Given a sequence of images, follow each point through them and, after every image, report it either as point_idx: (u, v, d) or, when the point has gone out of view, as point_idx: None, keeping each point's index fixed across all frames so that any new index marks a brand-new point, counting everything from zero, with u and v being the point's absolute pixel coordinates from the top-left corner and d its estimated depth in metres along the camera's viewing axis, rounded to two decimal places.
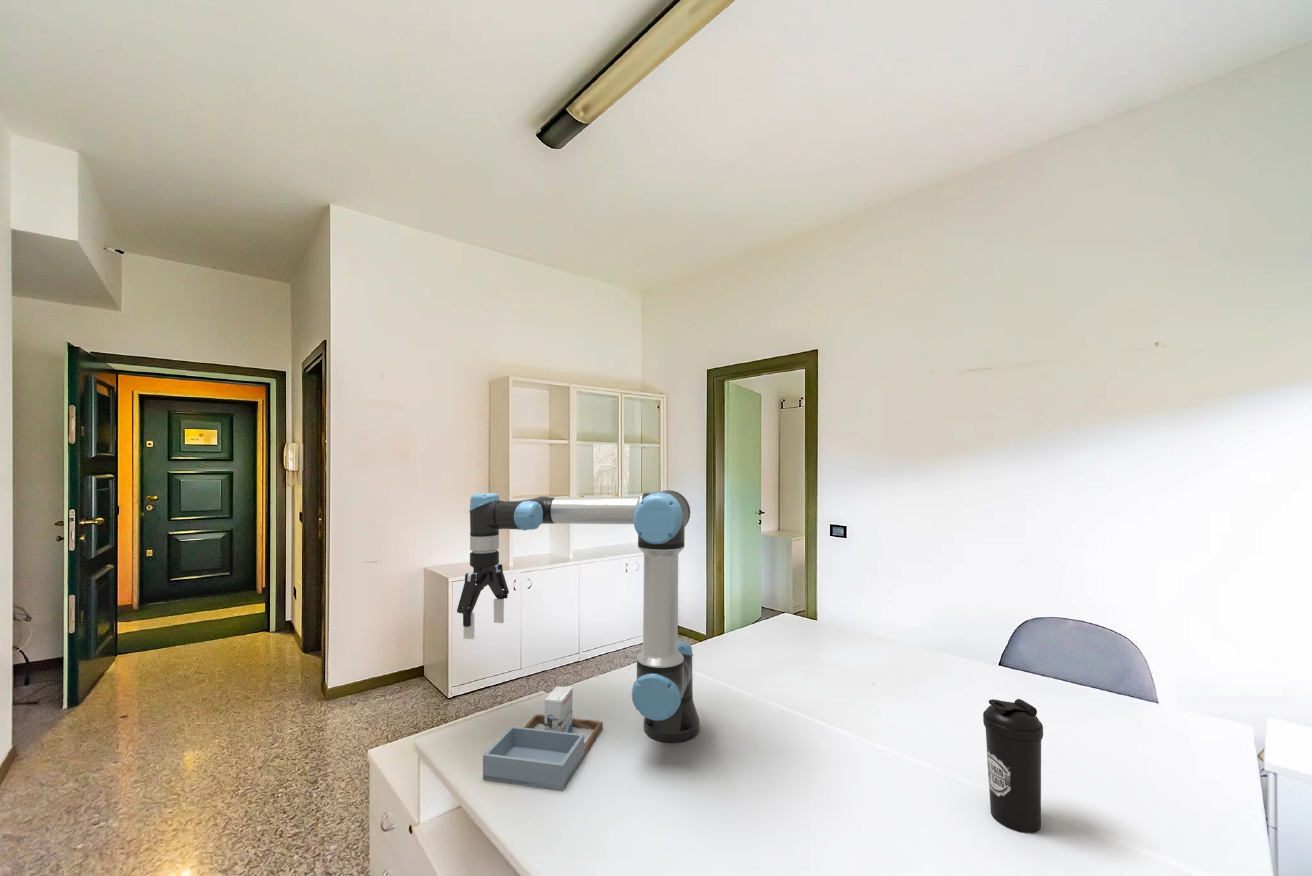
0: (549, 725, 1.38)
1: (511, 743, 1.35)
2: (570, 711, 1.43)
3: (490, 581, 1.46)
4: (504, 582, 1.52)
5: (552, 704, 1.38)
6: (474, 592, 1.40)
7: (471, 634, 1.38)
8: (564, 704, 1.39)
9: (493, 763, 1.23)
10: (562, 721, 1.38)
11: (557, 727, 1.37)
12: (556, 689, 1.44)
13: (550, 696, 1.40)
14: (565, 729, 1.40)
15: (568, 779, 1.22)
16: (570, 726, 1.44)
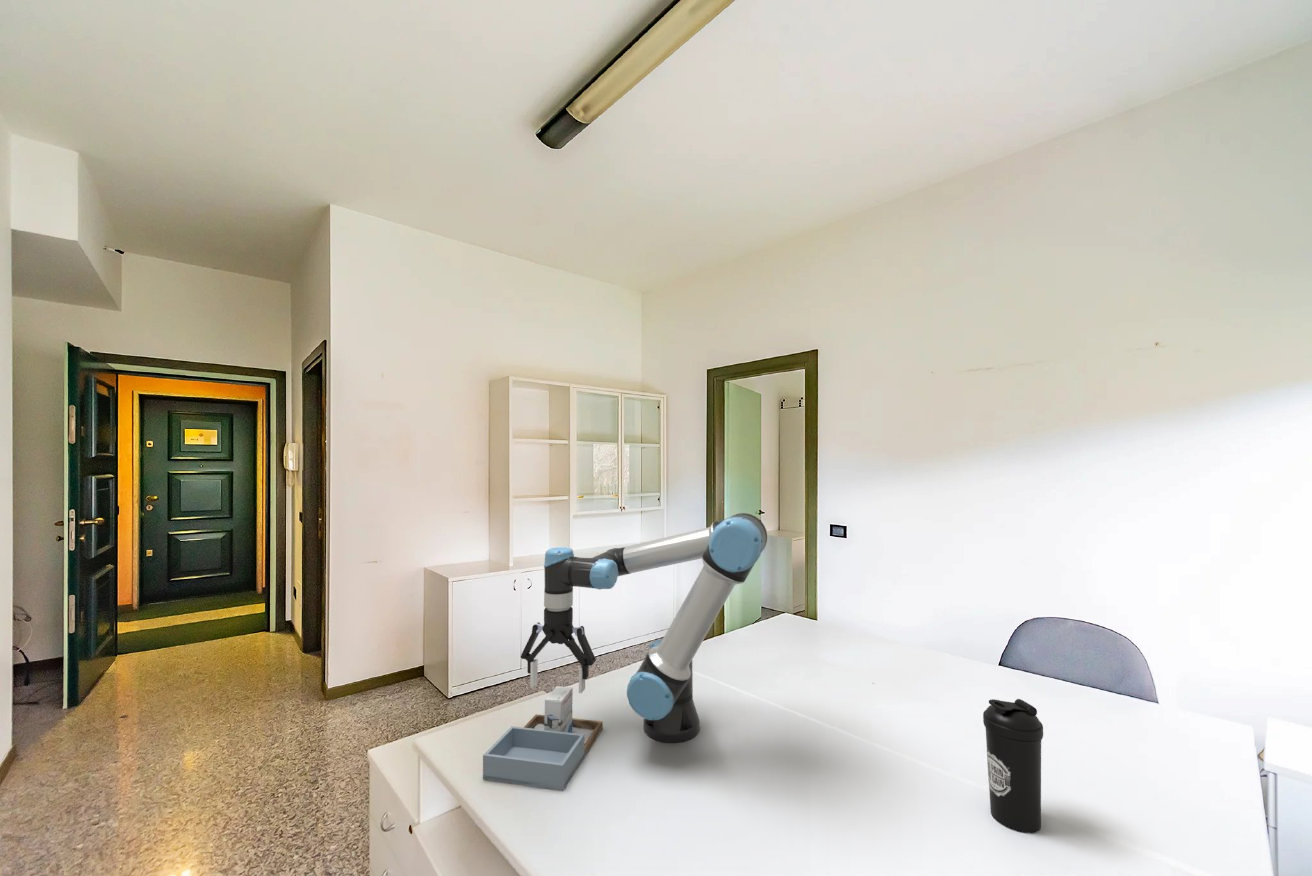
0: (549, 725, 1.38)
1: (511, 743, 1.35)
2: (570, 711, 1.43)
3: (560, 641, 1.41)
4: (584, 650, 1.39)
5: (552, 704, 1.38)
6: None
7: None
8: (564, 704, 1.39)
9: (493, 763, 1.23)
10: (562, 721, 1.38)
11: (557, 727, 1.37)
12: (556, 689, 1.44)
13: (550, 696, 1.40)
14: (565, 729, 1.40)
15: (568, 779, 1.22)
16: (570, 726, 1.44)
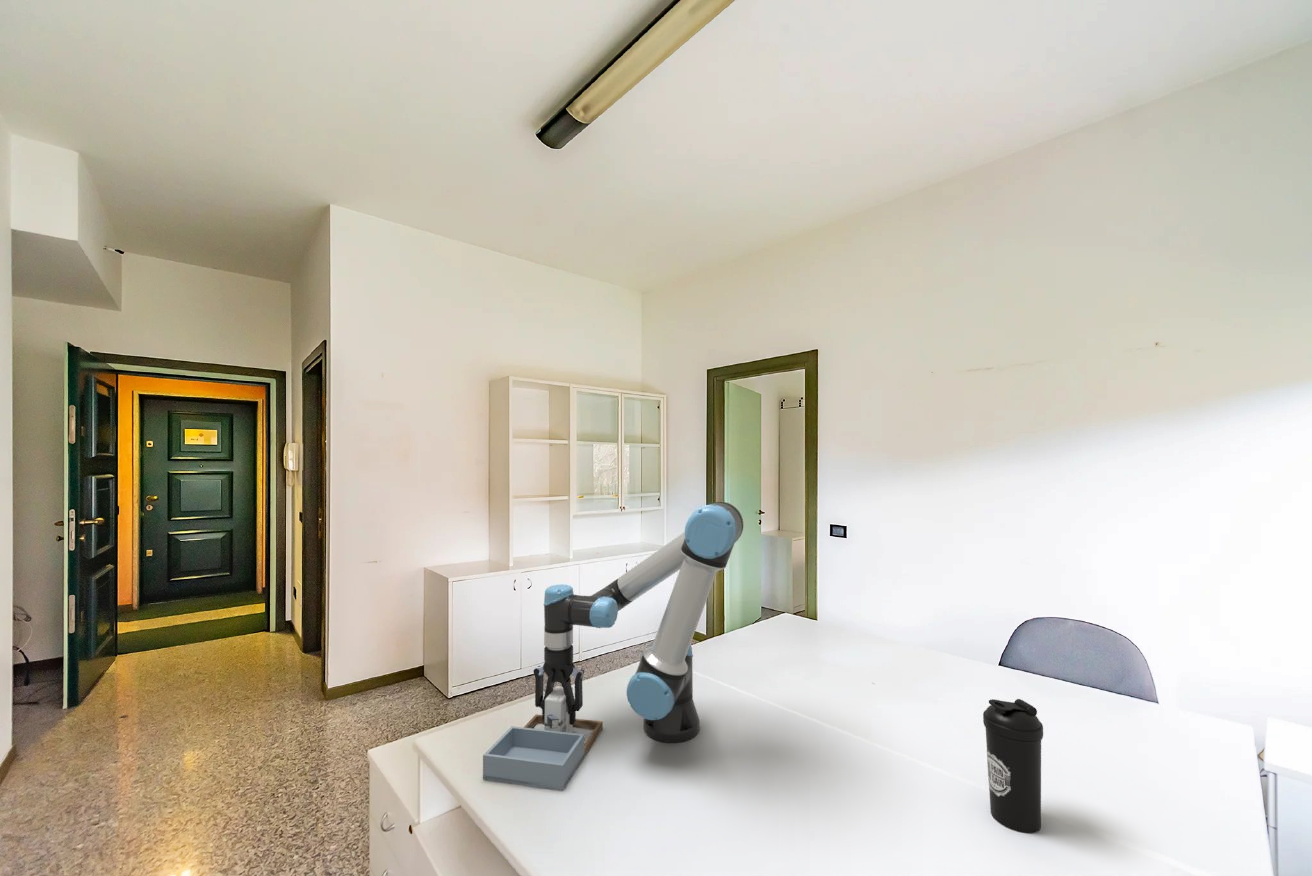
0: (550, 725, 1.38)
1: (511, 743, 1.35)
2: None
3: None
4: (576, 694, 1.40)
5: (552, 703, 1.38)
6: None
7: None
8: (565, 704, 1.39)
9: (493, 763, 1.23)
10: (562, 721, 1.38)
11: (557, 727, 1.37)
12: (556, 689, 1.44)
13: (550, 696, 1.40)
14: (565, 729, 1.40)
15: (568, 779, 1.22)
16: None
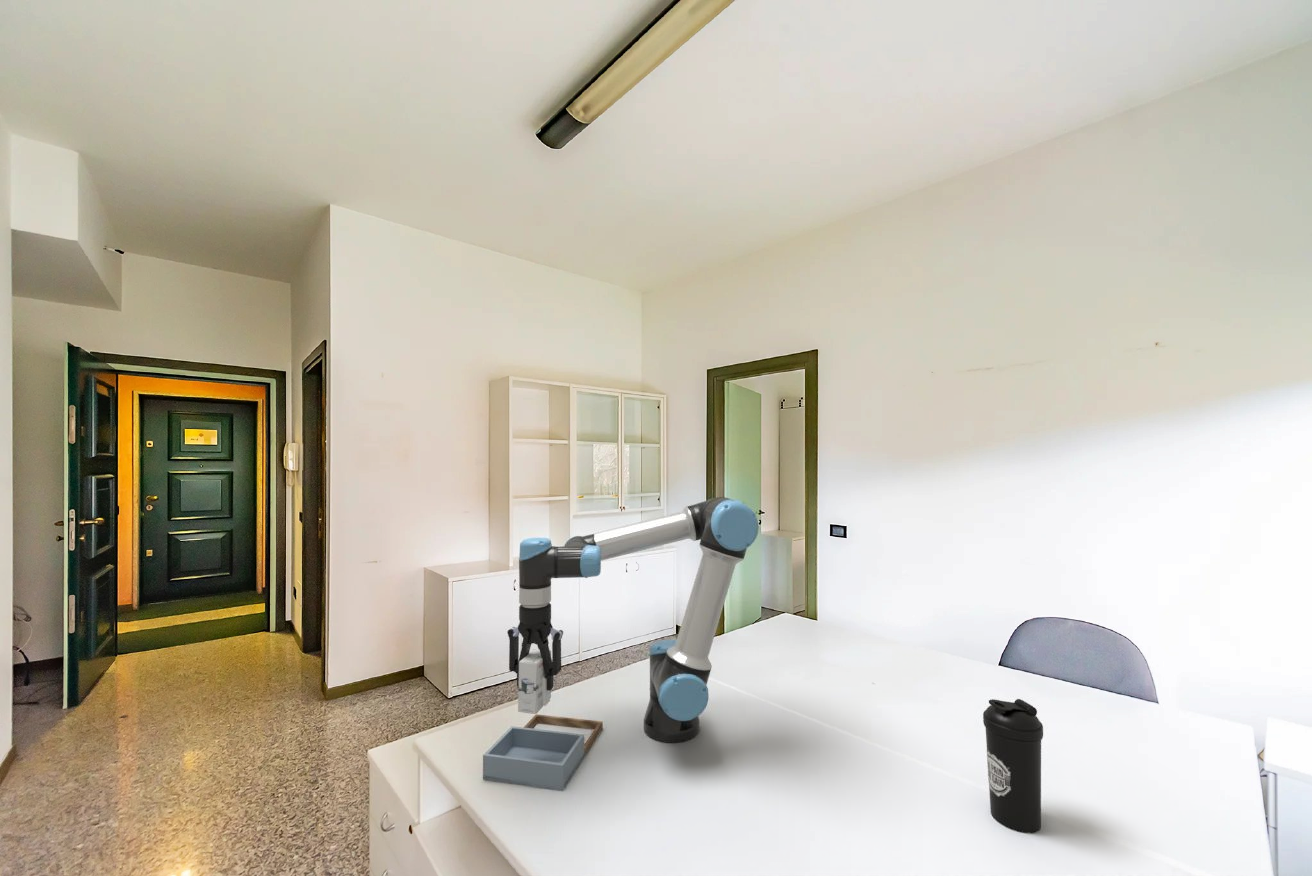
0: (524, 690, 1.25)
1: (511, 743, 1.35)
2: None
3: None
4: (554, 657, 1.26)
5: (527, 666, 1.25)
6: None
7: None
8: (541, 667, 1.26)
9: (493, 763, 1.23)
10: (538, 686, 1.25)
11: (532, 692, 1.24)
12: (533, 652, 1.31)
13: (525, 659, 1.27)
14: None
15: (568, 779, 1.22)
16: None
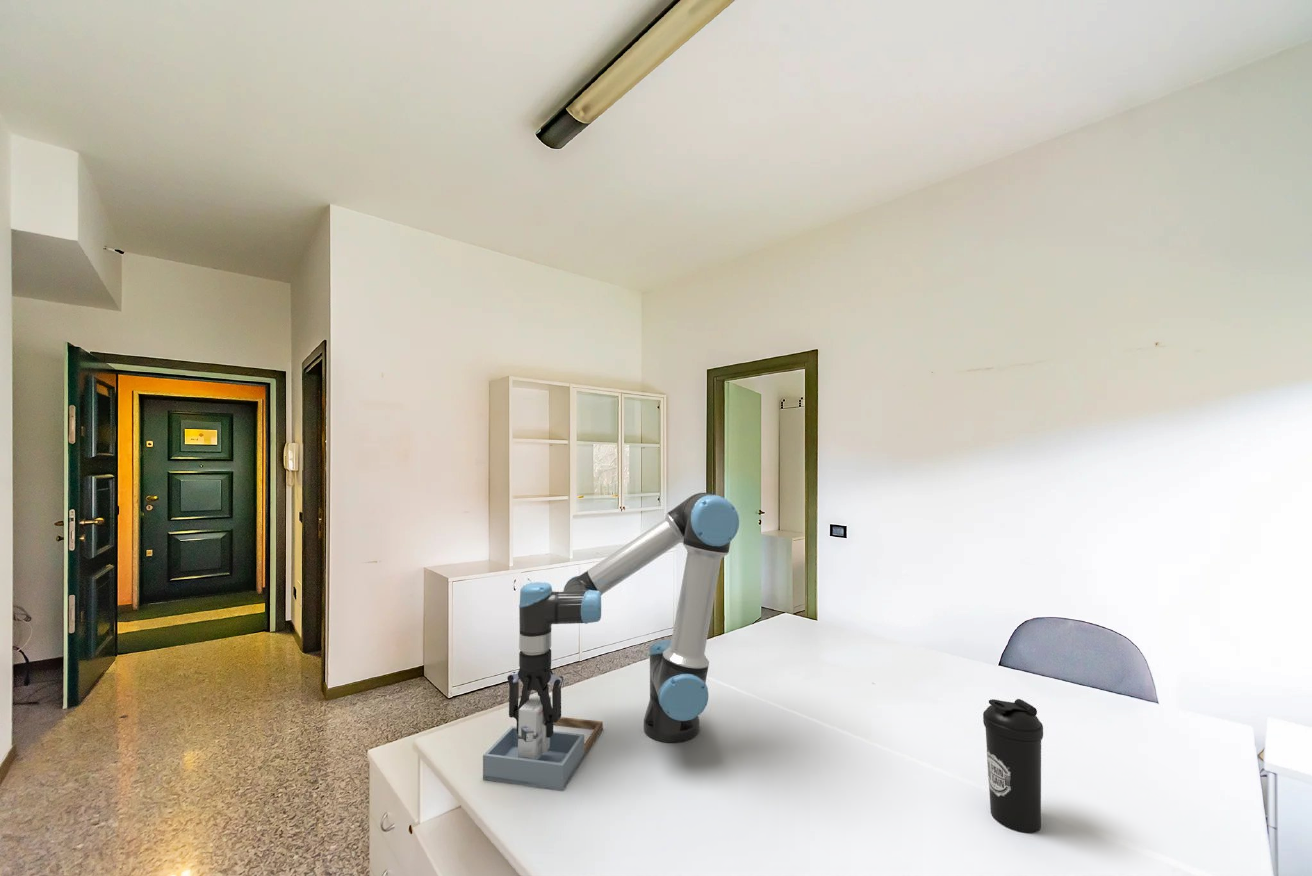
0: (524, 738, 1.24)
1: (511, 743, 1.35)
2: None
3: None
4: (554, 704, 1.26)
5: (527, 714, 1.24)
6: None
7: None
8: (541, 715, 1.26)
9: (493, 763, 1.23)
10: (538, 733, 1.24)
11: (532, 740, 1.24)
12: (532, 698, 1.31)
13: (525, 706, 1.26)
14: None
15: (568, 779, 1.22)
16: None
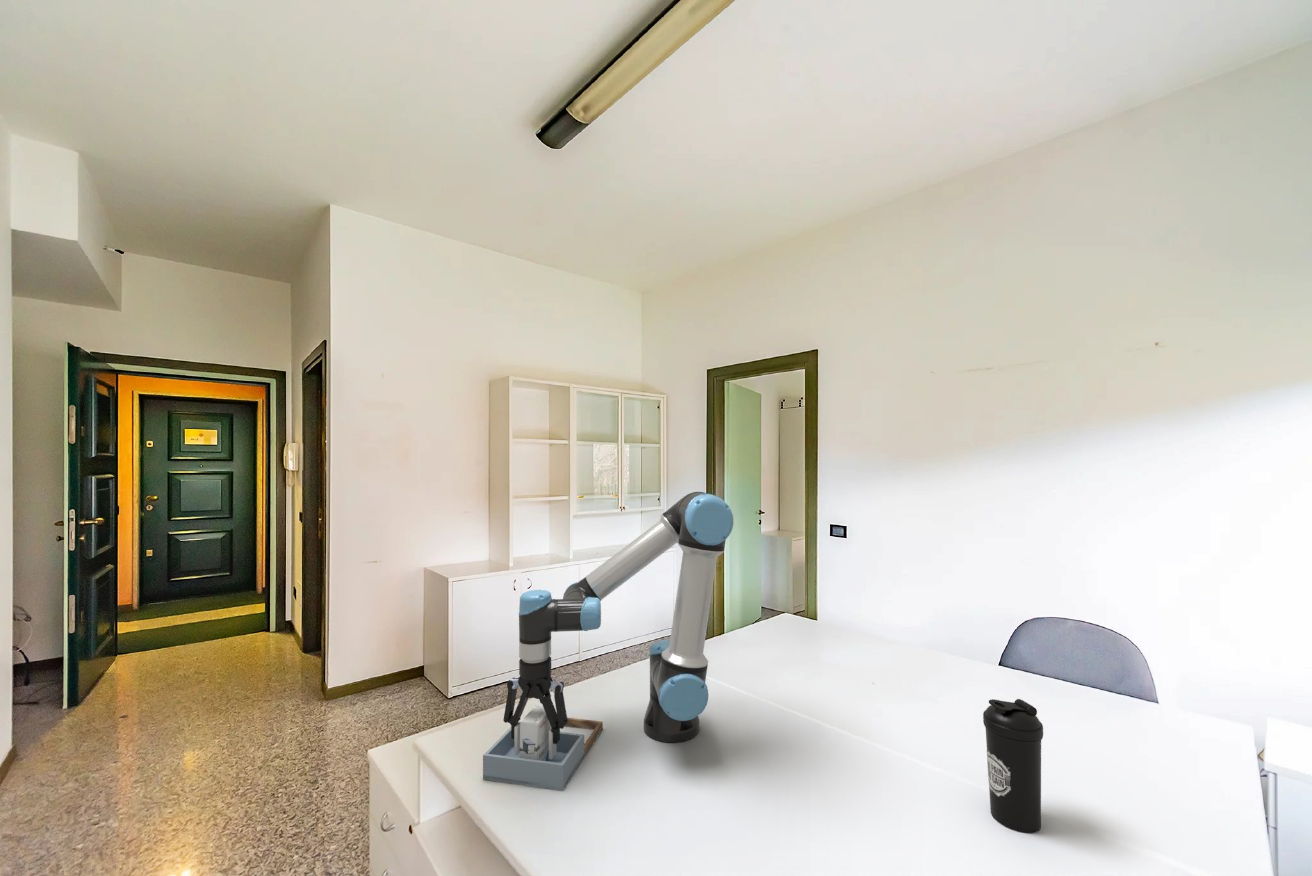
0: (525, 750, 1.24)
1: (511, 743, 1.35)
2: None
3: (537, 695, 1.27)
4: (558, 710, 1.26)
5: (528, 726, 1.24)
6: None
7: None
8: (542, 727, 1.26)
9: (493, 763, 1.23)
10: (539, 746, 1.24)
11: (533, 753, 1.24)
12: (534, 709, 1.30)
13: (526, 718, 1.26)
14: (543, 754, 1.26)
15: (568, 779, 1.22)
16: None
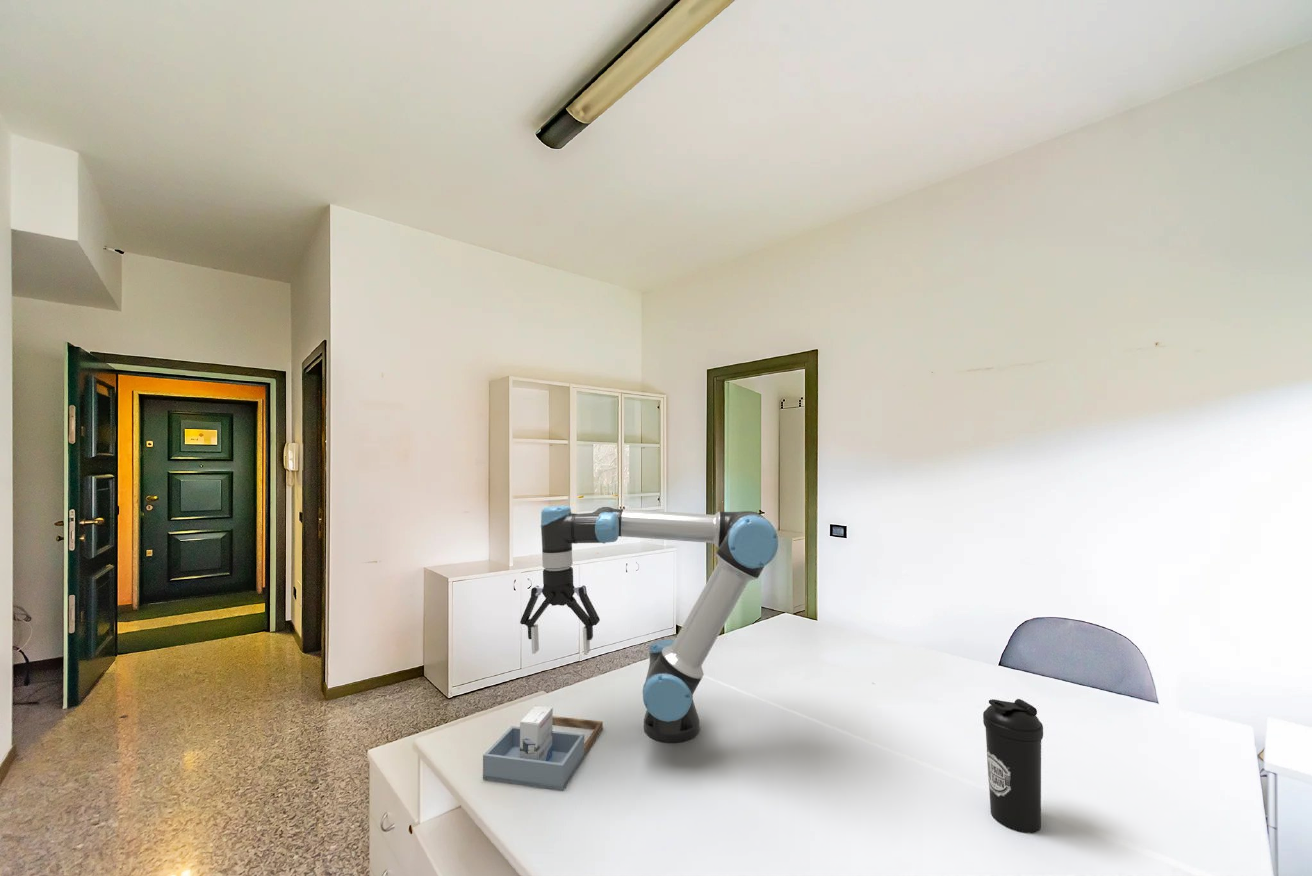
0: (525, 750, 1.24)
1: (511, 743, 1.35)
2: (549, 734, 1.30)
3: (561, 602, 1.35)
4: (587, 609, 1.34)
5: (528, 726, 1.24)
6: (539, 607, 1.37)
7: None
8: (542, 727, 1.26)
9: (493, 763, 1.23)
10: (539, 746, 1.24)
11: (533, 753, 1.24)
12: (534, 709, 1.30)
13: (526, 718, 1.26)
14: (543, 754, 1.26)
15: (568, 779, 1.22)
16: (549, 750, 1.30)
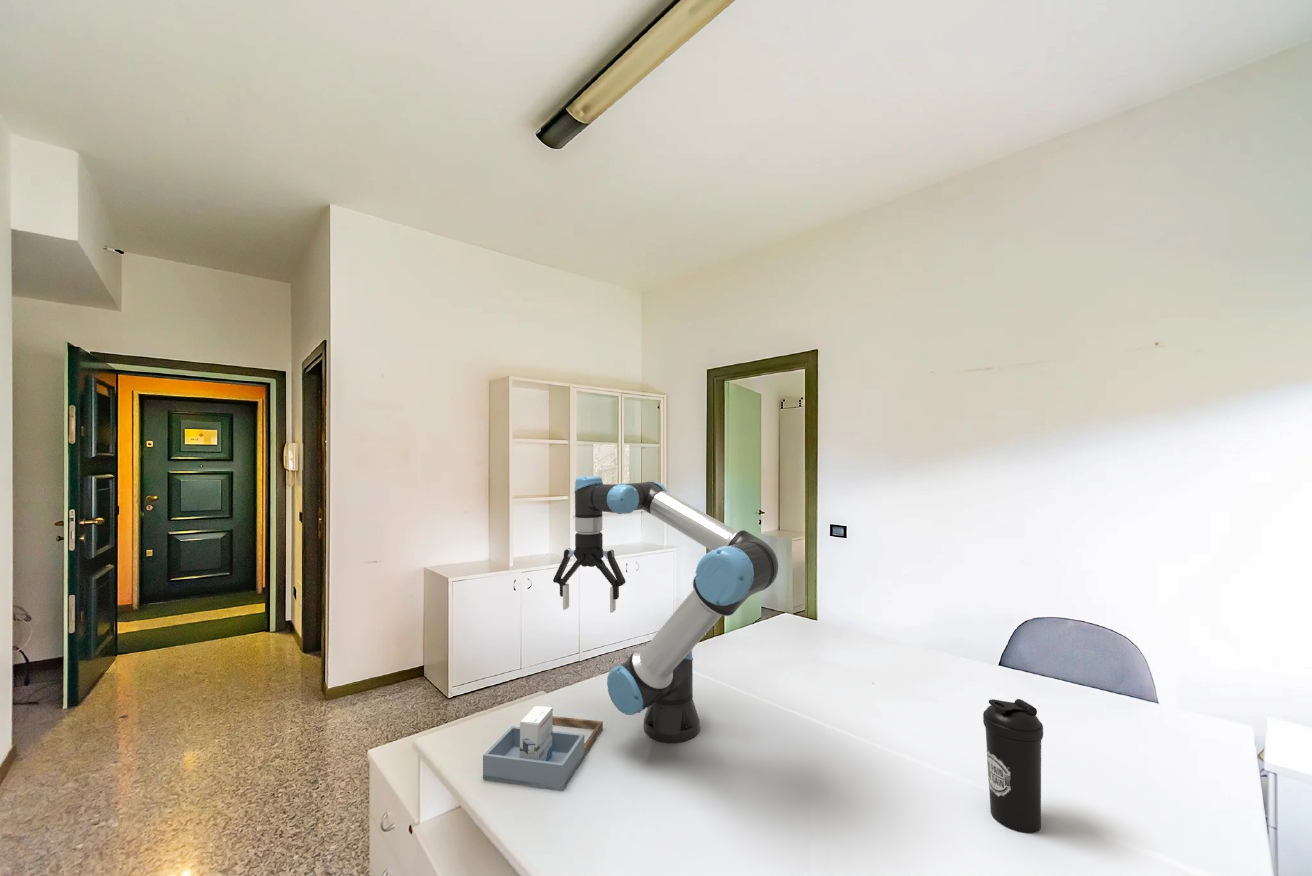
0: (525, 750, 1.24)
1: (511, 743, 1.35)
2: (549, 734, 1.30)
3: (591, 563, 1.47)
4: (615, 571, 1.46)
5: (528, 726, 1.24)
6: (571, 567, 1.49)
7: None
8: (542, 727, 1.26)
9: (493, 763, 1.23)
10: (539, 746, 1.24)
11: (533, 753, 1.24)
12: (534, 709, 1.30)
13: (526, 718, 1.26)
14: (543, 754, 1.26)
15: (568, 779, 1.22)
16: (549, 750, 1.30)
